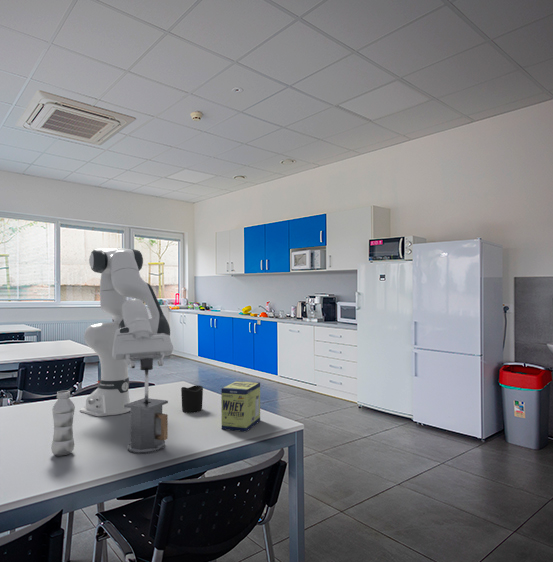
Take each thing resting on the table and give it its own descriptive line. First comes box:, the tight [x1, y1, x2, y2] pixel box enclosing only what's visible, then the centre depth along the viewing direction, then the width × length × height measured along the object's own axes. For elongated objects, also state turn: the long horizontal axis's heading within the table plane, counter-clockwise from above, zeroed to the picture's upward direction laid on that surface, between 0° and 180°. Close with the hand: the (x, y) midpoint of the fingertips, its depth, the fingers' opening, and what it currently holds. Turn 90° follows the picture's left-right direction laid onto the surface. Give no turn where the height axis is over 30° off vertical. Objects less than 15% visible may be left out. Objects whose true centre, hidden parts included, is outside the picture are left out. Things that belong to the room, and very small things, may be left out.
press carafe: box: [124, 397, 169, 455], centre depth 144 cm, size 14×12×15 cm
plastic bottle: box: [51, 390, 76, 457], centre depth 138 cm, size 6×7×20 cm
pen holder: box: [180, 384, 204, 414], centre depth 189 cm, size 9×9×10 cm
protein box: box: [220, 380, 261, 432], centre depth 168 cm, size 10×16×16 cm
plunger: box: [139, 357, 154, 404], centre depth 145 cm, size 8×8×18 cm
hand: (147, 366), depth 144 cm, fingers open, 8 cm apart
